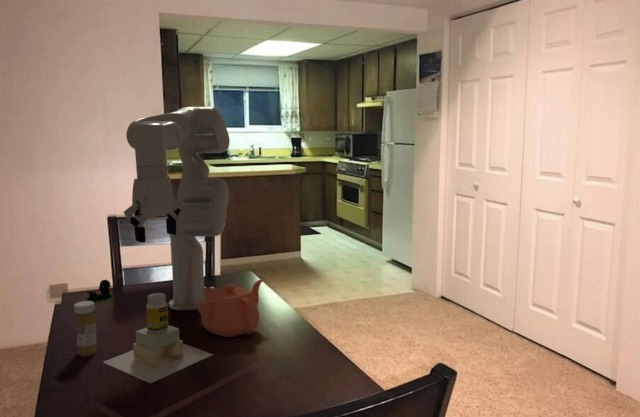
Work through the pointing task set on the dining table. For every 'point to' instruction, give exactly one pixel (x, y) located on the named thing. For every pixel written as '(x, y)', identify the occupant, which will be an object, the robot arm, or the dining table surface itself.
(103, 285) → the toy figurine
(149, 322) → the supplement bottle
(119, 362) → the base plate
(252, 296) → the teapot
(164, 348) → the birch block
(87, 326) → the sprinkles bottle
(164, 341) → the sage block
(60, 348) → the dining table surface
